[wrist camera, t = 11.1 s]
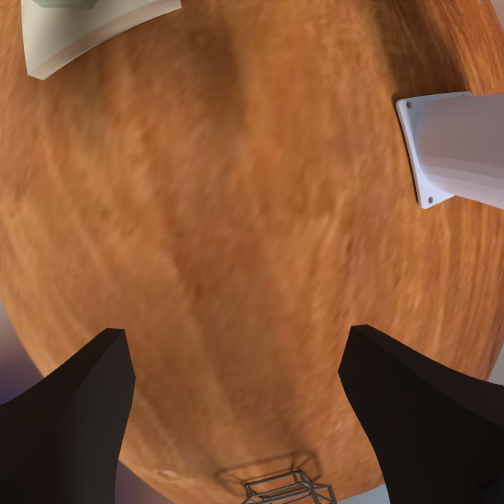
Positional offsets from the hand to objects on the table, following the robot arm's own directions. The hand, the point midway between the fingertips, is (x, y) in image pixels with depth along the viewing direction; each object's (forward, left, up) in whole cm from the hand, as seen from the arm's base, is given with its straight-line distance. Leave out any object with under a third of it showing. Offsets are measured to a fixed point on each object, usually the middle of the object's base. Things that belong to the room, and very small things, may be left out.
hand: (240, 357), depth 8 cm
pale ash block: (+2, -21, -9) cm, 23 cm away
